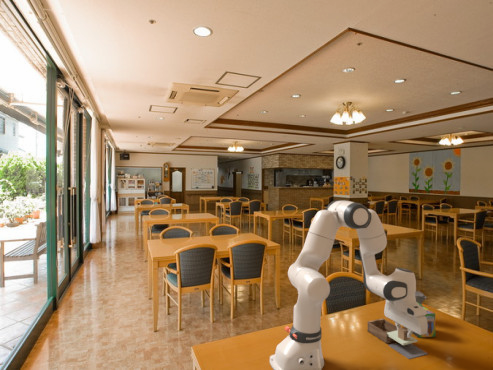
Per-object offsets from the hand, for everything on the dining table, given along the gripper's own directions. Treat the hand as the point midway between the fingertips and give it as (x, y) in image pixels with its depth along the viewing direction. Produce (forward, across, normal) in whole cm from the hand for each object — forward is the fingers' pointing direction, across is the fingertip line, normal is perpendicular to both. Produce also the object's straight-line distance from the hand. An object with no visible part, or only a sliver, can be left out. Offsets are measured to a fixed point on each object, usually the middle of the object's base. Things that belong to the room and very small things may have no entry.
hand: (404, 335), depth 133 cm
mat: (+6, +2, 0) cm, 6 cm away
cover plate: (+2, -2, 0) cm, 3 cm away
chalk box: (+6, -7, +19) cm, 21 cm away
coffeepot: (+6, -19, +27) cm, 34 cm away
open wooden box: (+6, -11, 0) cm, 12 cm away
